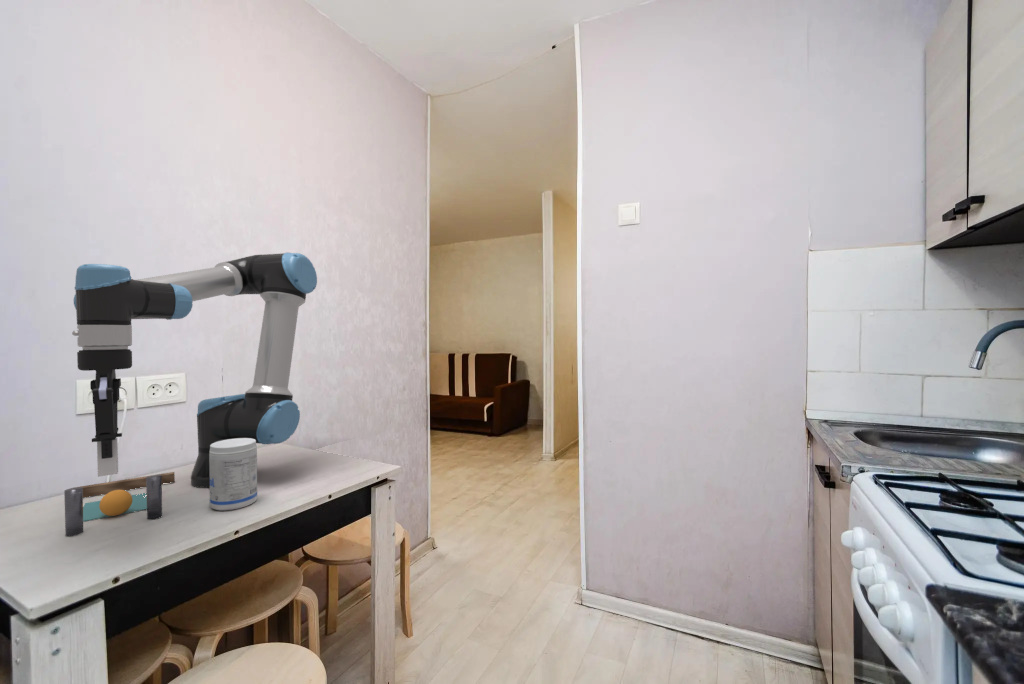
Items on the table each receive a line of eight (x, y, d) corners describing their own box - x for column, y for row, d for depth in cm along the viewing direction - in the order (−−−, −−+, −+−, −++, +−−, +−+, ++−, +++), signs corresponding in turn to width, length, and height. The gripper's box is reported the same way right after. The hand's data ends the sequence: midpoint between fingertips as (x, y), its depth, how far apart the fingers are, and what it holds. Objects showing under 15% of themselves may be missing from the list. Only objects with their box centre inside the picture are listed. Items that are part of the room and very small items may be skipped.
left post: (84, 529, 91) (83, 486, 91) (82, 534, 89) (81, 489, 89) (66, 533, 89) (65, 488, 89) (64, 537, 87) (63, 492, 87)
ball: (132, 513, 98) (133, 509, 102) (131, 488, 98) (132, 485, 103) (98, 521, 95) (101, 516, 99) (97, 495, 95) (99, 491, 99)
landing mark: (160, 491, 114) (160, 490, 114) (159, 507, 103) (159, 506, 103) (85, 504, 105) (85, 503, 105) (75, 523, 94) (75, 522, 94)
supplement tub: (206, 503, 105) (205, 442, 105) (251, 493, 111) (250, 435, 111) (214, 515, 98) (213, 449, 97) (262, 504, 104) (261, 442, 104)
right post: (162, 514, 99) (161, 474, 99) (162, 517, 97) (161, 476, 97) (147, 517, 97) (146, 476, 97) (146, 520, 95) (145, 479, 95)
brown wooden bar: (174, 480, 122) (174, 471, 122) (174, 482, 121) (174, 473, 121) (73, 497, 110) (73, 487, 110) (72, 499, 108) (71, 489, 108)
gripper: (82, 348, 85) (85, 470, 86) (71, 349, 75) (74, 487, 75) (133, 347, 90) (136, 463, 90) (129, 348, 80) (132, 478, 80)
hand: (108, 474), depth 83 cm, fingers closed
